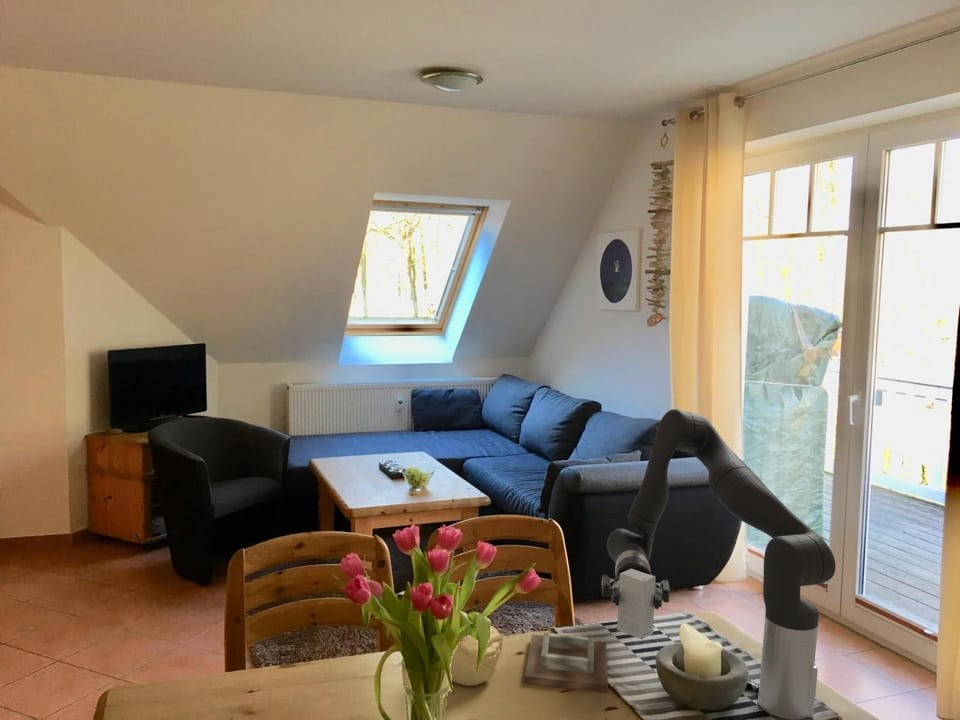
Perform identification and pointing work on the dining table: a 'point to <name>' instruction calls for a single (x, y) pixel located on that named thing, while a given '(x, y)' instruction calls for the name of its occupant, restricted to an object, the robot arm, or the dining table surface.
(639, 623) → the skincare box
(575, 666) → the walnut stand
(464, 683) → the sculpture
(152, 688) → the dining table surface
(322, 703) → the dining table surface
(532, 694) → the dining table surface
